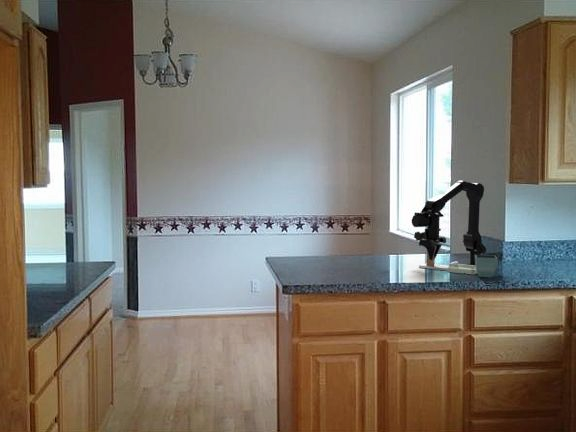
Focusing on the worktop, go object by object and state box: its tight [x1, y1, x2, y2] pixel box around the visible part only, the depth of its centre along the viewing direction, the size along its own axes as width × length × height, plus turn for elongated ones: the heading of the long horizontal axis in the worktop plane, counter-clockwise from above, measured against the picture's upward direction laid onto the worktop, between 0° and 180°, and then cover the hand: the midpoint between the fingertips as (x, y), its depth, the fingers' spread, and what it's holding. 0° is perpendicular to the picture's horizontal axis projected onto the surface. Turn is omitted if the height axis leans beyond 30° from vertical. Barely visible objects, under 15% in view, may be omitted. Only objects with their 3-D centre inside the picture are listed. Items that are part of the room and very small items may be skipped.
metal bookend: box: [418, 250, 459, 272], centre depth 295 cm, size 16×8×8 cm, turn 54°
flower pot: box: [475, 254, 499, 279], centre depth 273 cm, size 9×9×9 cm
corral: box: [447, 263, 478, 275], centre depth 288 cm, size 13×12×2 cm
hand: (432, 259), depth 297 cm, fingers closed on metal bookend, 3 cm apart
